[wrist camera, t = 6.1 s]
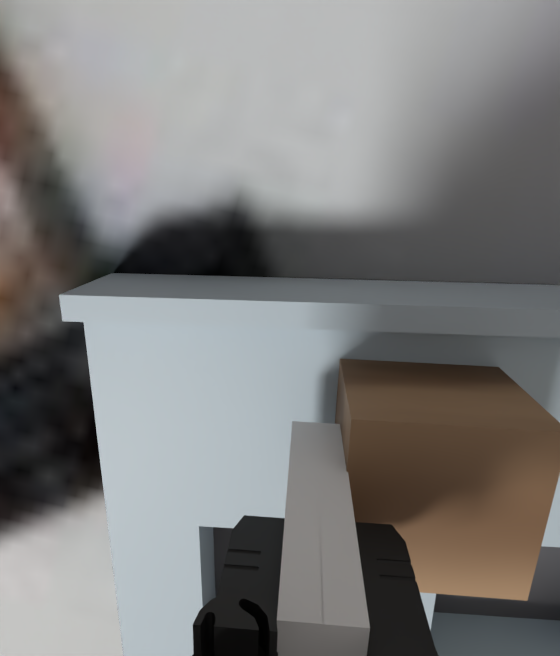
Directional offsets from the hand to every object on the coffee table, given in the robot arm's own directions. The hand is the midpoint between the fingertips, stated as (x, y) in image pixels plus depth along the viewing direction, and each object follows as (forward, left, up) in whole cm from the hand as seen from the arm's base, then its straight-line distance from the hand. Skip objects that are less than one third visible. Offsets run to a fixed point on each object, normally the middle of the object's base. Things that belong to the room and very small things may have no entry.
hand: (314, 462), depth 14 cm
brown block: (0, +3, -2) cm, 4 cm away
